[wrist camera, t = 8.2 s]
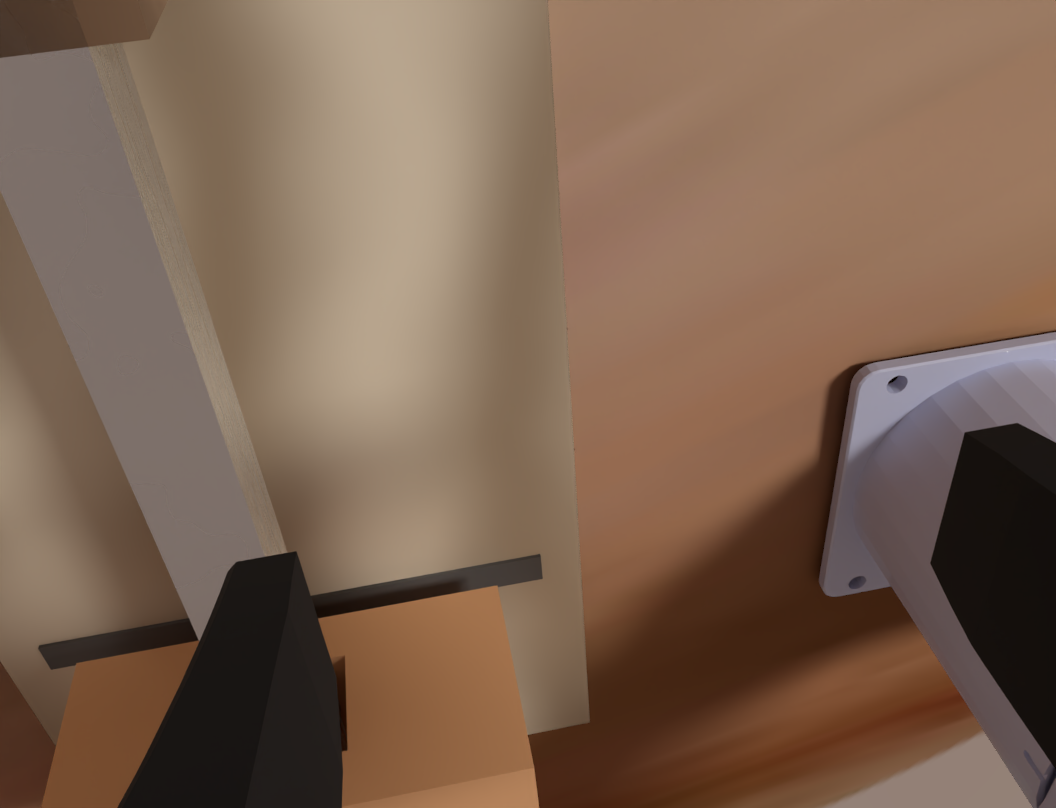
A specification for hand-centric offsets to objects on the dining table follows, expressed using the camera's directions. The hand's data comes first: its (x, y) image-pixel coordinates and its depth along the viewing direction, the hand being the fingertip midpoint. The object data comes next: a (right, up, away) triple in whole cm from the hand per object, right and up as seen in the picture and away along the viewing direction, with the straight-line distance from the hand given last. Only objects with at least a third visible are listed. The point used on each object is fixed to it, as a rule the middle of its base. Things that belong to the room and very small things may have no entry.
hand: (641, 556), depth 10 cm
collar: (-7, -5, +13) cm, 15 cm away
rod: (-7, -1, +8) cm, 10 cm away
